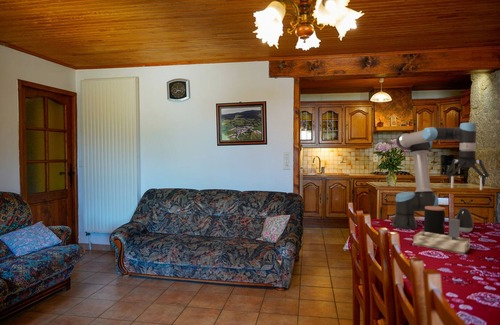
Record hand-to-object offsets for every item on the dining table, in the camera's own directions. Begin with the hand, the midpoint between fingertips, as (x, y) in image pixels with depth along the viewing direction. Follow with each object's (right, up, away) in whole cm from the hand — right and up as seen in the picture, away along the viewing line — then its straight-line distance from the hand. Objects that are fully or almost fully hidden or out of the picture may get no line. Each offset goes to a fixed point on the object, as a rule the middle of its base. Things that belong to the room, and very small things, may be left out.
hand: (466, 188), depth 183 cm
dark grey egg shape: (+17, -30, +28) cm, 44 cm away
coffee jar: (-10, -30, +14) cm, 35 cm away
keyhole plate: (-17, -31, -5) cm, 36 cm away
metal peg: (-12, -30, -9) cm, 34 cm away
